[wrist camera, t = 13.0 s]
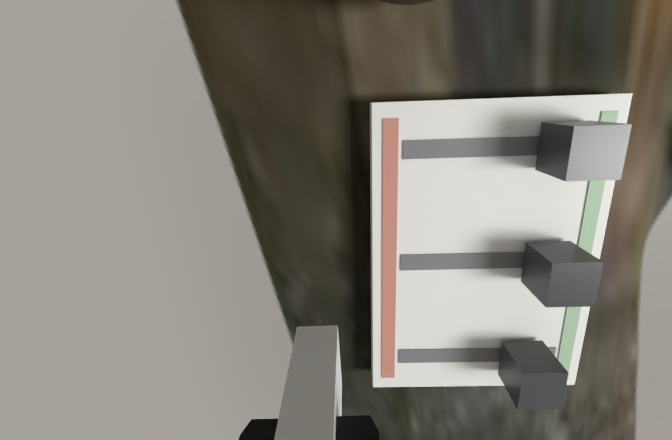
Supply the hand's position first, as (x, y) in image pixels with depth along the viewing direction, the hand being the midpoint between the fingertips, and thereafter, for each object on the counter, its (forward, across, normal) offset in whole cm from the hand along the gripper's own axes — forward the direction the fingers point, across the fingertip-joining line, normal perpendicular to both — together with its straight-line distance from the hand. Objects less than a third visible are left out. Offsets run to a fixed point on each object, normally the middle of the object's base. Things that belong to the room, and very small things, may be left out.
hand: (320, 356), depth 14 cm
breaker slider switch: (+12, +14, -11) cm, 21 cm away
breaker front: (+13, +15, +5) cm, 20 cm away
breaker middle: (+13, +15, -3) cm, 20 cm away
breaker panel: (+15, +11, -3) cm, 19 cm away
